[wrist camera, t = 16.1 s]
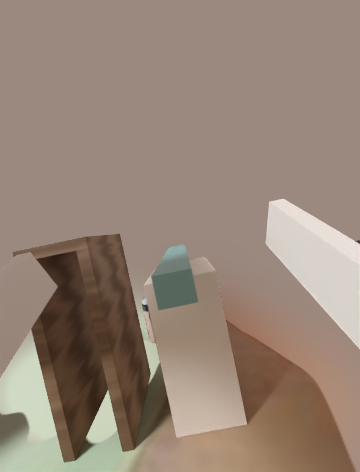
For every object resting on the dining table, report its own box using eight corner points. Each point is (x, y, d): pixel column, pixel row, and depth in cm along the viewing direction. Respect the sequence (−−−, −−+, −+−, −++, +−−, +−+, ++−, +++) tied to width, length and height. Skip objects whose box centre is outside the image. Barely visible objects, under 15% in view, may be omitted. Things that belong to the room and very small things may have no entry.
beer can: (160, 346, 46) (150, 301, 46) (146, 342, 49) (137, 300, 48) (170, 334, 50) (161, 293, 50) (157, 332, 53) (149, 293, 52)
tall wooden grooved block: (133, 449, 25) (85, 236, 24) (63, 462, 25) (12, 252, 24) (150, 373, 38) (119, 234, 37) (104, 382, 38) (72, 243, 37)
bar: (198, 302, 15) (191, 268, 15) (158, 310, 15) (151, 276, 15) (187, 257, 39) (184, 244, 39) (171, 261, 39) (169, 247, 39)
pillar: (247, 424, 25) (215, 270, 24) (176, 437, 25) (143, 285, 24) (226, 361, 37) (204, 256, 36) (178, 370, 37) (156, 266, 36)
